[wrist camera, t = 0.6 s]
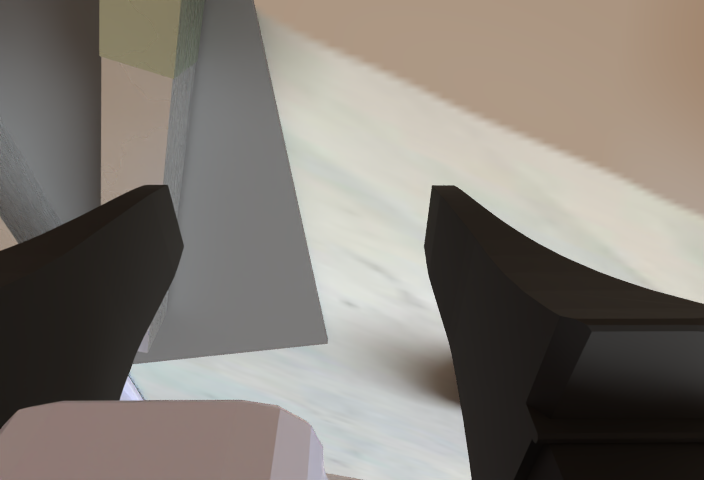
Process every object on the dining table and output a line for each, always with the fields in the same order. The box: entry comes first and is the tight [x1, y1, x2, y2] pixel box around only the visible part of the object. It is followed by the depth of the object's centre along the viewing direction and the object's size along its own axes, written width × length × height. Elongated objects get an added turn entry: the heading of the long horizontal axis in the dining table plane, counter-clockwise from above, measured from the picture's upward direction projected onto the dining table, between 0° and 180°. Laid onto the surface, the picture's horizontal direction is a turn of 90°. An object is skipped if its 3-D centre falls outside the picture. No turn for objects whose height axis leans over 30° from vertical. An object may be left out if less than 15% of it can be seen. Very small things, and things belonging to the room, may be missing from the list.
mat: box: [0, 0, 328, 364], centre depth 21 cm, size 20×27×1 cm
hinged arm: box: [99, 0, 205, 353], centre depth 20 cm, size 21×4×3 cm, turn 162°
